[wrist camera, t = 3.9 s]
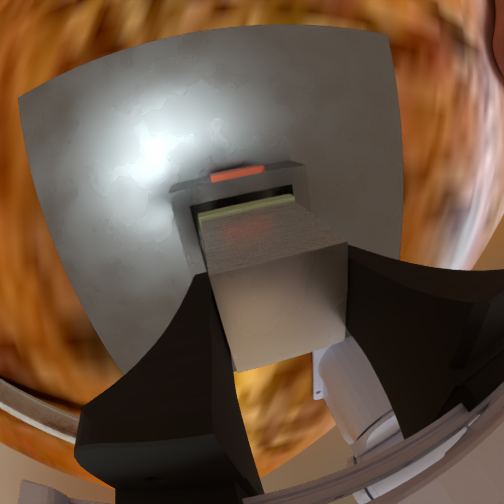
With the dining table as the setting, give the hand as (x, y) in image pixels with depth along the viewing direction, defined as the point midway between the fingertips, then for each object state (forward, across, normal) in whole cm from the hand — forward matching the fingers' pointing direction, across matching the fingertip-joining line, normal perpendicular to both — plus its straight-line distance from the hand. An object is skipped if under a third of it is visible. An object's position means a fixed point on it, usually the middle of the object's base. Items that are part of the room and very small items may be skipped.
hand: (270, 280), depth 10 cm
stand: (+7, 0, 0) cm, 7 cm away
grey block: (+3, 0, 0) cm, 3 cm away
